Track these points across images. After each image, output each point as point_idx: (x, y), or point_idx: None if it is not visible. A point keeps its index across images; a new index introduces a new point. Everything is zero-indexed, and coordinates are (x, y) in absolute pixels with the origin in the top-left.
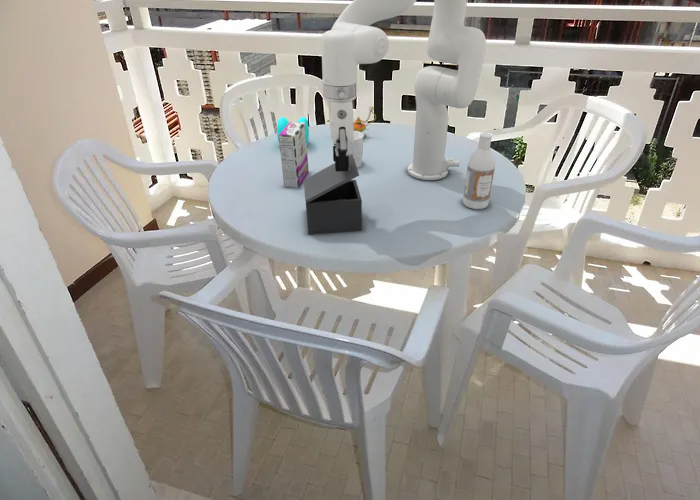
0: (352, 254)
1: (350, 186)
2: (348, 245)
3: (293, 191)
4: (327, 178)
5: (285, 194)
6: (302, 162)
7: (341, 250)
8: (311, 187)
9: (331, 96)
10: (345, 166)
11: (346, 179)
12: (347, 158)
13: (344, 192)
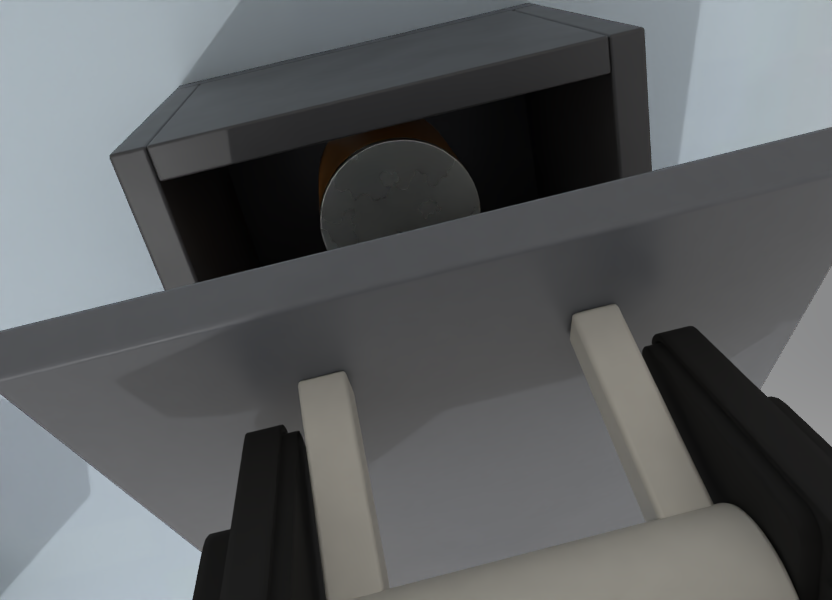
0: (823, 44)
1: (184, 193)
2: (715, 85)
3: (24, 556)
4: (502, 487)
5: (84, 585)
6: None
7: (766, 125)
8: (515, 547)
9: None
10: (789, 412)
11: (811, 295)
12: (823, 477)
13: (214, 231)
